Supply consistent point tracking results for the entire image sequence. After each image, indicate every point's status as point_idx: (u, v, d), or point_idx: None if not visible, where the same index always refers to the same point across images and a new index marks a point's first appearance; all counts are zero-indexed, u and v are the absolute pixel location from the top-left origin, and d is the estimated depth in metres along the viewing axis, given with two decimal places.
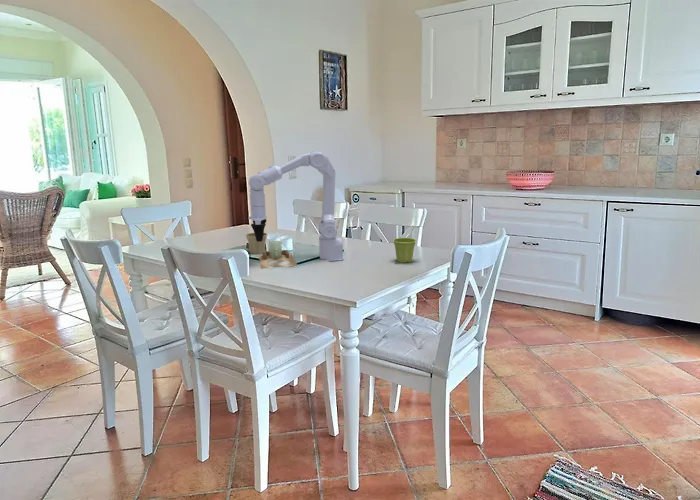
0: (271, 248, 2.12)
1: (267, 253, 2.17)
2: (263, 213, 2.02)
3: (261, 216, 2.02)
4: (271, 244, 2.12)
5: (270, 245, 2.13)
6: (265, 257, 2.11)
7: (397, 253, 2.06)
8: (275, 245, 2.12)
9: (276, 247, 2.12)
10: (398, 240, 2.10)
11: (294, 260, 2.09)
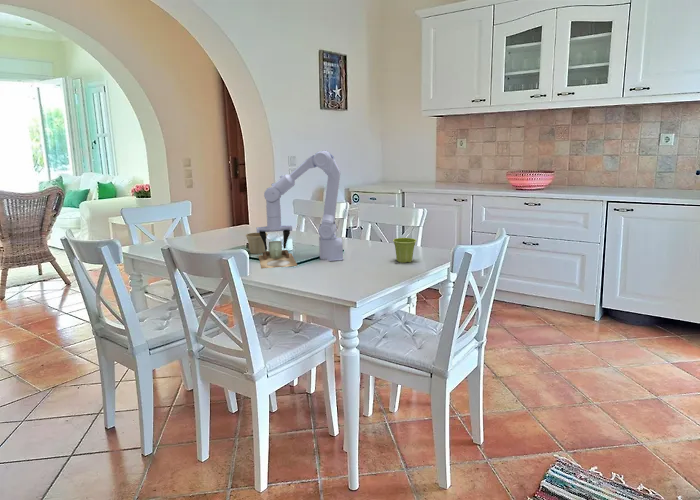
0: (271, 248, 2.12)
1: (267, 253, 2.17)
2: (269, 224, 2.10)
3: (268, 226, 2.11)
4: (271, 244, 2.12)
5: (270, 245, 2.13)
6: (265, 257, 2.11)
7: (397, 253, 2.06)
8: (275, 245, 2.12)
9: (276, 247, 2.12)
10: (398, 240, 2.10)
11: (294, 260, 2.09)
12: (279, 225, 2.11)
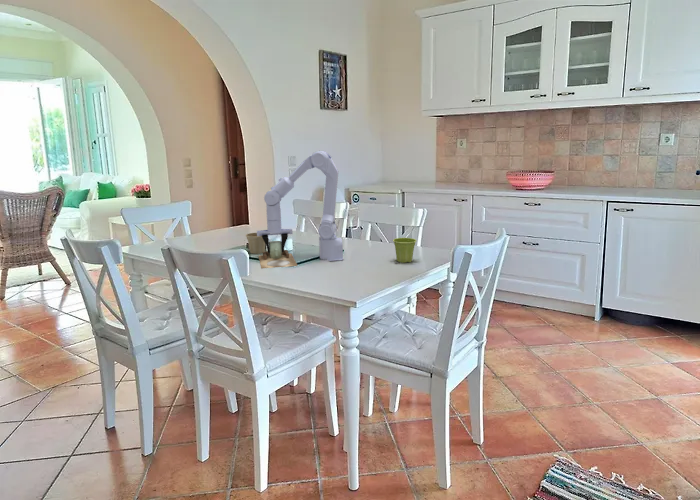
0: (271, 248, 2.12)
1: (267, 253, 2.17)
2: (270, 227, 2.10)
3: (268, 230, 2.11)
4: (271, 244, 2.12)
5: (270, 245, 2.13)
6: (265, 257, 2.11)
7: (397, 253, 2.06)
8: (275, 245, 2.12)
9: (276, 247, 2.12)
10: (398, 240, 2.10)
11: (294, 260, 2.09)
12: (279, 228, 2.11)
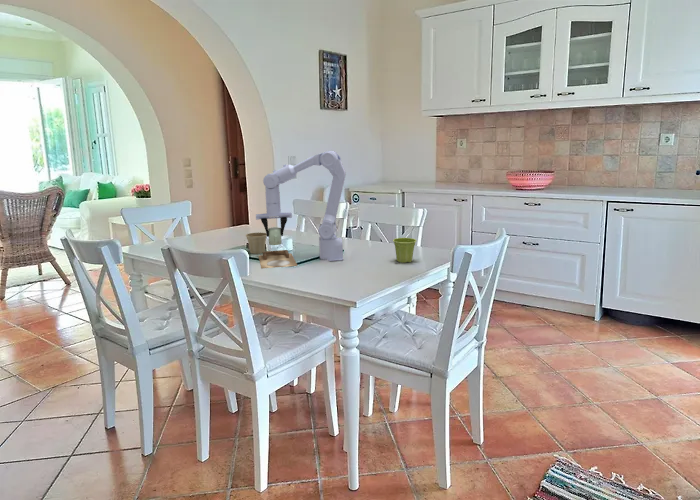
0: (270, 235, 2.11)
1: (267, 253, 2.17)
2: (269, 211, 2.09)
3: (267, 213, 2.10)
4: (270, 231, 2.11)
5: (269, 232, 2.11)
6: (265, 257, 2.11)
7: (397, 253, 2.06)
8: (274, 232, 2.11)
9: (275, 234, 2.11)
10: (398, 240, 2.10)
11: (294, 260, 2.09)
12: (278, 212, 2.10)
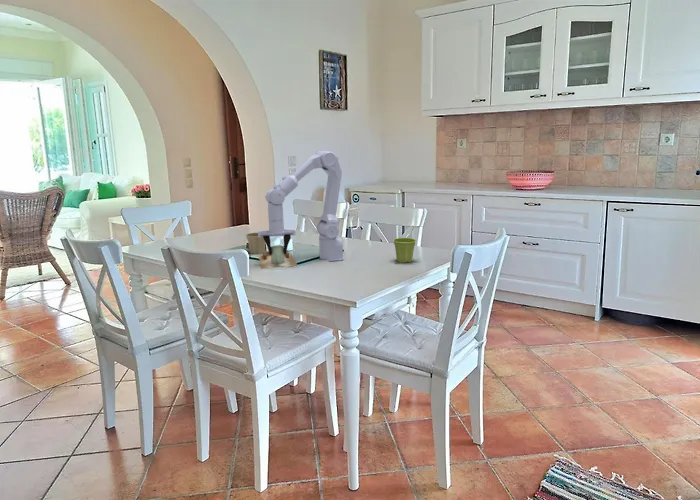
0: (273, 253, 2.02)
1: (267, 253, 2.17)
2: (271, 228, 1.99)
3: (270, 231, 2.00)
4: (273, 249, 2.02)
5: (272, 250, 2.02)
6: (265, 257, 2.11)
7: (397, 253, 2.06)
8: (277, 250, 2.02)
9: (278, 252, 2.02)
10: (398, 240, 2.10)
11: (294, 260, 2.09)
12: (282, 229, 2.00)
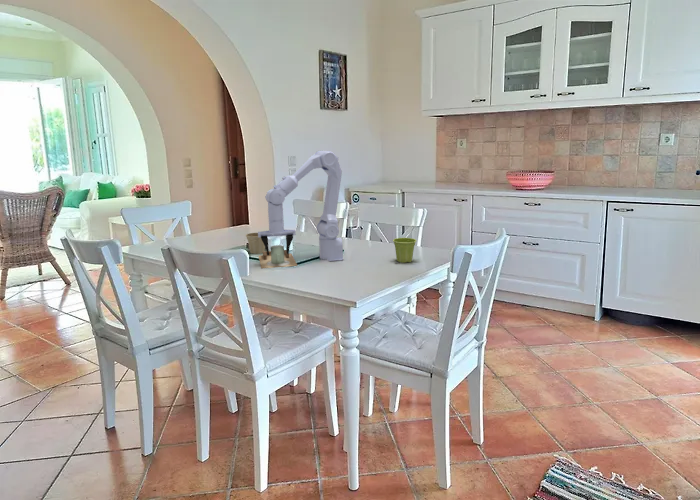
0: (273, 253, 2.02)
1: None
2: (271, 228, 1.99)
3: (270, 231, 2.00)
4: (273, 249, 2.02)
5: (272, 250, 2.02)
6: (265, 257, 2.11)
7: (397, 253, 2.06)
8: (277, 250, 2.02)
9: (278, 252, 2.02)
10: (398, 240, 2.10)
11: (294, 260, 2.09)
12: (282, 229, 2.00)
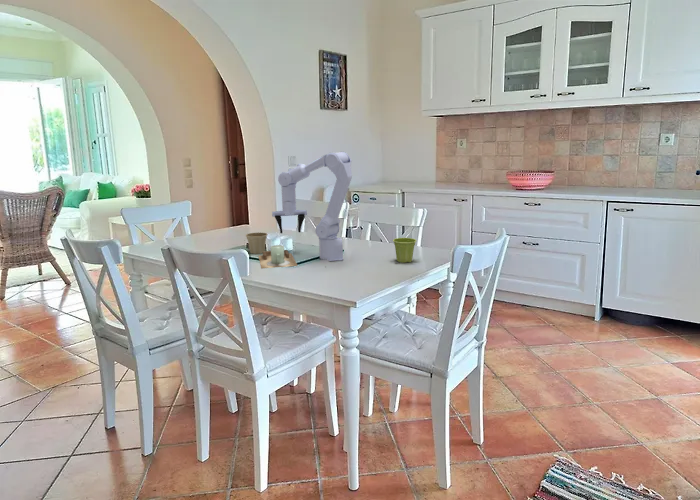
0: (273, 253, 2.02)
1: (267, 253, 2.17)
2: (285, 208, 2.15)
3: (283, 210, 2.16)
4: (273, 249, 2.02)
5: (272, 250, 2.02)
6: (265, 257, 2.11)
7: (397, 253, 2.06)
8: (277, 250, 2.02)
9: (278, 252, 2.02)
10: (398, 240, 2.10)
11: (294, 260, 2.09)
12: (294, 209, 2.16)
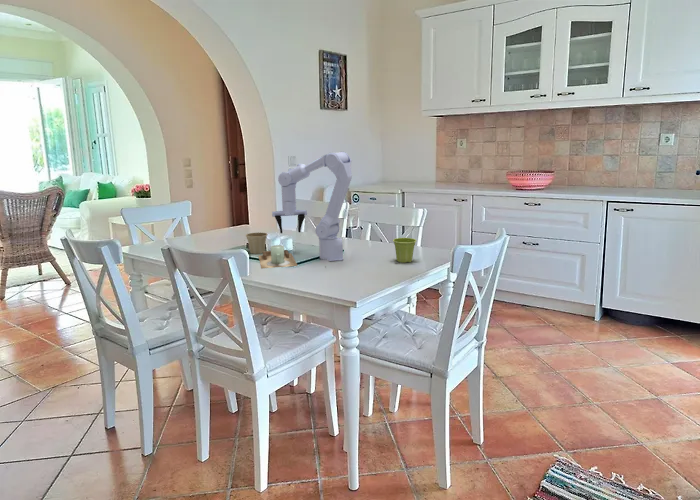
0: (273, 253, 2.02)
1: (267, 253, 2.17)
2: (285, 208, 2.15)
3: (283, 210, 2.16)
4: (273, 249, 2.02)
5: (272, 250, 2.02)
6: (265, 257, 2.11)
7: (397, 253, 2.06)
8: (277, 250, 2.02)
9: (278, 252, 2.02)
10: (398, 240, 2.10)
11: (294, 260, 2.09)
12: (294, 209, 2.16)
